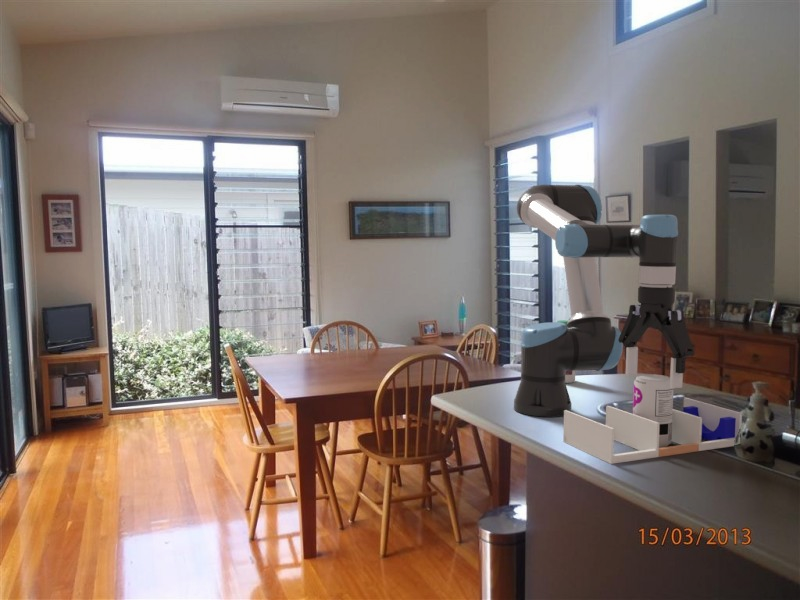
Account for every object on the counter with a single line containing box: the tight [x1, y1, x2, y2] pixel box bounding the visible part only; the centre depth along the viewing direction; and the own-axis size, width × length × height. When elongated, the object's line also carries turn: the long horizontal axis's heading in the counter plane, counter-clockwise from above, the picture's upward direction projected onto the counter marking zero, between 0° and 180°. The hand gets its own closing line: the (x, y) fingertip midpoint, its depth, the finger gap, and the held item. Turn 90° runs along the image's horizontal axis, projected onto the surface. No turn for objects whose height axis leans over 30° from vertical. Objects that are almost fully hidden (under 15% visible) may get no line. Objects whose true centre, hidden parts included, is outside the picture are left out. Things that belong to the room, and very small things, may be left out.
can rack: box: [562, 397, 743, 465], centre depth 142 cm, size 35×16×7 cm, turn 111°
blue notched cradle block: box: [682, 406, 736, 441], centre depth 147 cm, size 12×4×6 cm, turn 21°
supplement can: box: [632, 373, 674, 448], centre depth 142 cm, size 8×8×15 cm
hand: (652, 381), depth 142 cm, fingers open, 13 cm apart
